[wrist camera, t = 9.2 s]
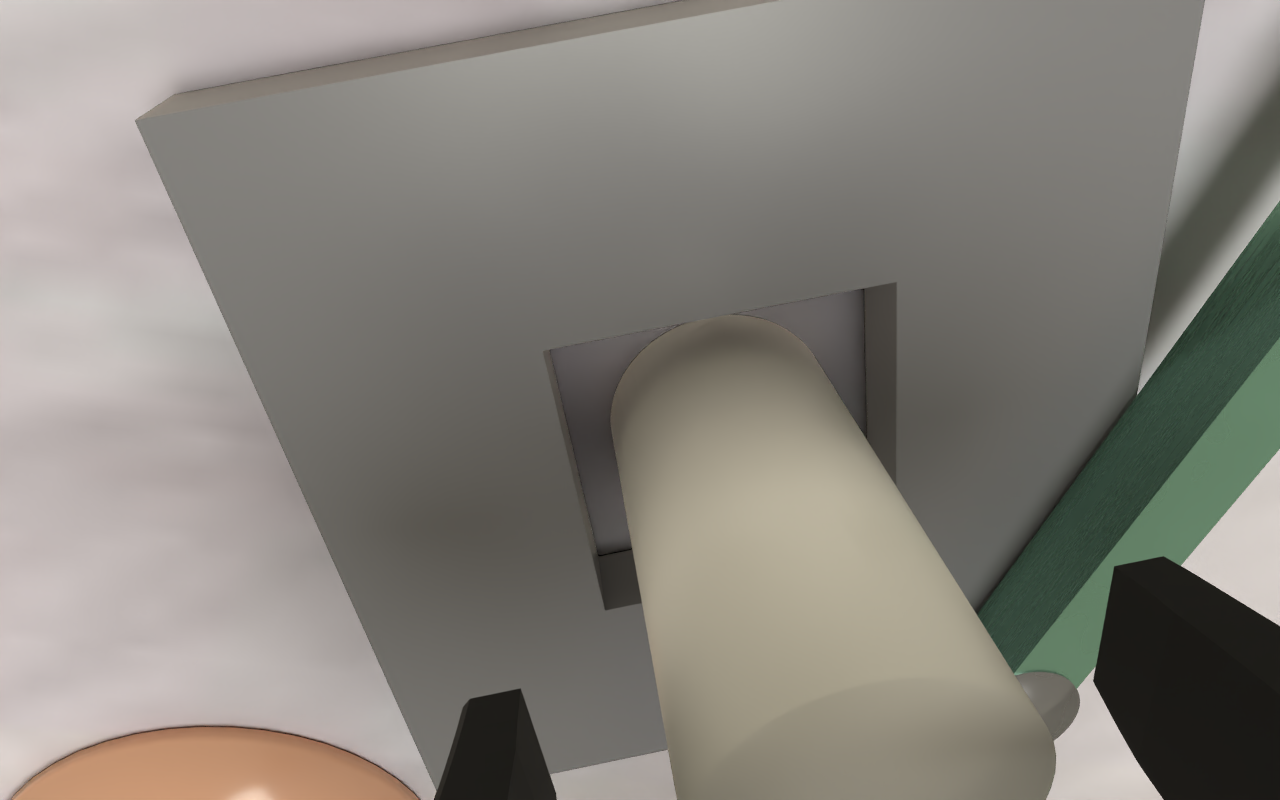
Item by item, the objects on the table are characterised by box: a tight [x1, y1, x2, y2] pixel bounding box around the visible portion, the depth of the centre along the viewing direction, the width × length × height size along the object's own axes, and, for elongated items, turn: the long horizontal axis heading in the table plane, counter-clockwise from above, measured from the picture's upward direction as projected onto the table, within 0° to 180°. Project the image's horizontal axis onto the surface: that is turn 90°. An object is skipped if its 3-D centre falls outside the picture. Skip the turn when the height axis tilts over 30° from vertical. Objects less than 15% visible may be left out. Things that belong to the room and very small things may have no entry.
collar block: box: [135, 0, 1205, 790], centre depth 15 cm, size 14×14×2 cm
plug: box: [611, 315, 1056, 800], centre depth 13 cm, size 4×4×8 cm
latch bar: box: [977, 201, 1280, 741], centre depth 14 cm, size 18×2×2 cm, turn 159°
